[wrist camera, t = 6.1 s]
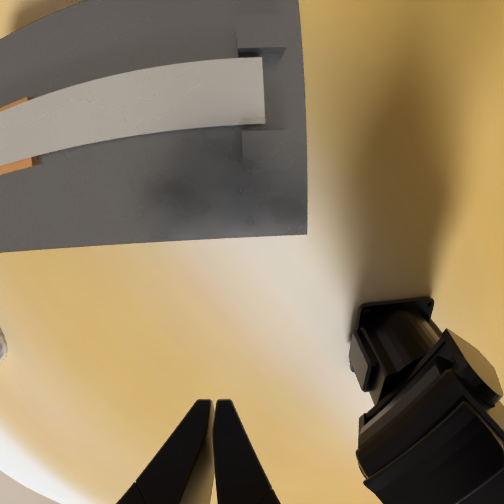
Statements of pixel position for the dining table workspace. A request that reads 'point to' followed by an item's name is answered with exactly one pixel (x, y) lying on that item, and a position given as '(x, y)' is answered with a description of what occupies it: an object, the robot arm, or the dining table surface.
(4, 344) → the canned food
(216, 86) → the steel strap
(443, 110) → the dining table surface
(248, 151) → the silver metal tray
